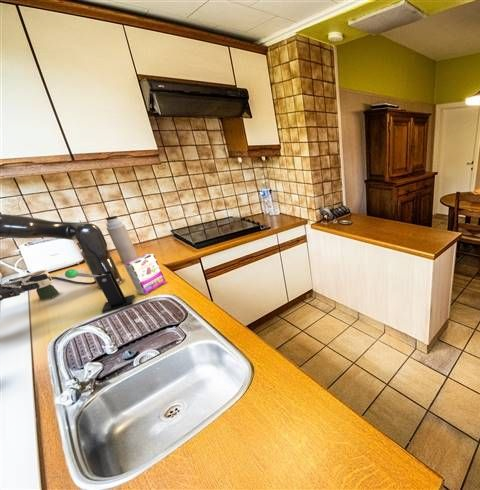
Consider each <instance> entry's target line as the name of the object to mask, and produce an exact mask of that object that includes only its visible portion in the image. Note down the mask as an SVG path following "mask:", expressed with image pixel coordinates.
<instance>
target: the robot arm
mask: <svg viewBox="0 0 480 490" xmlns="http://www.w3.org/2000/svg"><path fill="white" fill-rule="evenodd" d="M0 238H7V239H45V238H46V239H47V238H52V239H64V240H70V241H76V242H78V245H79V247H80V250H81V251H80V255H81V256H82V258H83V261H84V262H85V264H86V266H87V268H88V270H89V272H90V274H92V275H98V273H102V272H106V271H110V270H112V272H113V274H114V276H115V278H116V280H117V282H118V284H119V285H120V284H122V283H123V282H124V279H123V278H122V276H121V274H120V272H119V269H118V268H117V266H116V264H115V261H114V259H113V257H112V254H111V253H110V251H109V249H108V243H107V241H106V238H105V236H104V233H103V232H102V230H101V228H100V227H99V226H98V225H96V224H94V223H90V222H82V221H81V222H80V221H77V222H76V221H75V222H74V221H53V220H47V219H42V218H37V217H31V216H24V215H18V214H17V215H16V214H5V213H0ZM26 275H27V276H26ZM26 275H24V276H19V277H15V278H10V279H8V281H6V282H4V283H3V284H2V283H0V302H2V301H3V300H6V299H10V298H15V297H19V296H21V294H24V293H25V292H30V291H34V290H37V288H39V287H40V286H39V284H38V283H33V282H37V281H41V280H46V279H48V276H47V274H41V275H37V276H32V275H28V274H26ZM51 278H52V279H54V280H60V281H65V282H68V283H73V284H78V285H79V284H80V285H94V284H96V285H97V286H98V287H97V288H98V289H100V290H102V289H101V288H100V286H99V284H98V282H97V280H96V278H93V280H94V281H91V282H86V281H75V280H72V279H68V278H64V277H63V278H62V277H58V276H51ZM27 279H29V280H27ZM26 280H27V281H26ZM30 283H32V284H30Z"/></svg>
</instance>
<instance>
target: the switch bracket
mask: <svg viewBox="0 0 480 490" xmlns="http://www.w3.org/2000/svg"><path fill="white" fill-rule="evenodd" d="M102 274H106V275H102ZM98 275H102V276H98V277H96V280H97V282H98V284H99V286H100V288H101V289H100V290H101V291H102V293H103V295H104V297H105V299H106V302H105V303H104V305H103V307H102V309H101V313H102V314H106V313H108V312H112V311H115V310H119V309H122V308H125V307H129V306H132V305H133V303H134V299H135V295H134V294H131V295H126V296H125V294H124V292H123V291H122V288H121V287H120V284H118V282H117V280H116V278H115V276H114V274H113V272H112V270H110V271H106V272H102V273H98Z"/></svg>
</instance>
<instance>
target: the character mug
mask: <svg viewBox="0 0 480 490" xmlns="http://www.w3.org/2000/svg"><path fill="white" fill-rule="evenodd" d="M41 274H47V276H48V279H46V280H41V281H37V282H33V283H38V284H39V286H40V287H39V288H37V289H35V291H36V294H37V296H38V299H39V300H41V301H43V300H48V299H52V298H54V297H57V296H58V295H59V294H60V292H59V291H58V290H57V288H56V287H55V286H54V285H53V283H54V280H53V278H51V277H52V276H51V275H50V273H49V271H48V270H46V269H43V270H38V271H34V272H30V273H28V274H26V275H25V276H27V275H32V276H37V275H41ZM27 280H29V279H27ZM27 280H26V281H27ZM30 284H32V283H30Z"/></svg>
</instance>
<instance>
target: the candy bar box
mask: <svg viewBox="0 0 480 490" xmlns="http://www.w3.org/2000/svg"><path fill="white" fill-rule="evenodd" d="M123 267H124V268H125V270H126V272H127V274H128V276H129V277H130V280H131V282H132V283H133V286H134V288H135V289H136V292H137V293H138V295H148V294H149V293H151V292H152V291H155V290H156V289H158V288H159V287H160V286H162V285H164V284H166V283H167V281H166V279H165V277H164V273H163V272H162V269H161V268H160V265H159V263H158V261H157V259H156V256H155V254H154V253H144V254H142V255H139V256H138V258H136V259H134V260H131V261H129V262H127V263H123Z"/></svg>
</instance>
